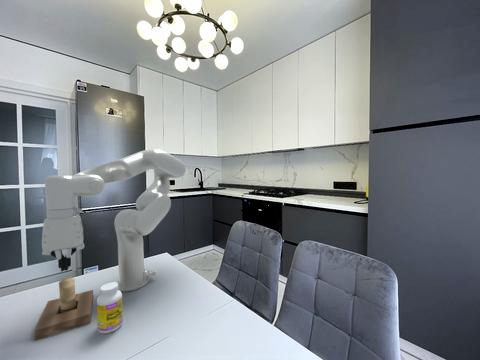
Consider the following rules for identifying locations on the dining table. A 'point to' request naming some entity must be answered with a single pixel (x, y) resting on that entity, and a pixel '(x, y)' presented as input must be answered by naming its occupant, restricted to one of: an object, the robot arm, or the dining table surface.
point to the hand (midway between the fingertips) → (65, 269)
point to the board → (64, 316)
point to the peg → (67, 295)
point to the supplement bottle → (109, 308)
